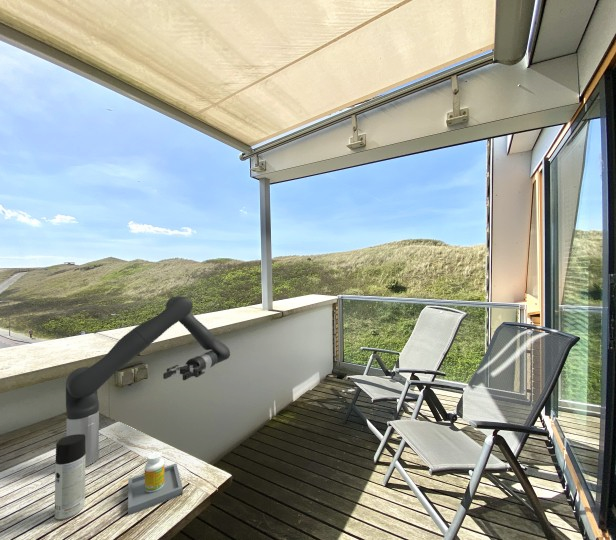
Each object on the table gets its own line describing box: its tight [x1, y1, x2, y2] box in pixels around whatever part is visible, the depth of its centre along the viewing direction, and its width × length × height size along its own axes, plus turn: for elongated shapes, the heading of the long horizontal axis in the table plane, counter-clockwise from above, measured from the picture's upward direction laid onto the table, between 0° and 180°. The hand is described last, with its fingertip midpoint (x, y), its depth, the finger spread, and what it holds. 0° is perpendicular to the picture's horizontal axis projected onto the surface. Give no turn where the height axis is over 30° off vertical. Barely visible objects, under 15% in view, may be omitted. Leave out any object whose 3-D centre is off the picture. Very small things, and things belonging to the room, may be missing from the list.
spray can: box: [53, 434, 86, 521], centre depth 82 cm, size 7×7×20 cm
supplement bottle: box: [144, 450, 165, 492], centre depth 90 cm, size 5×5×10 cm
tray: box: [127, 463, 184, 516], centre depth 90 cm, size 14×14×2 cm
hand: (173, 377), depth 110 cm, fingers open, 8 cm apart
